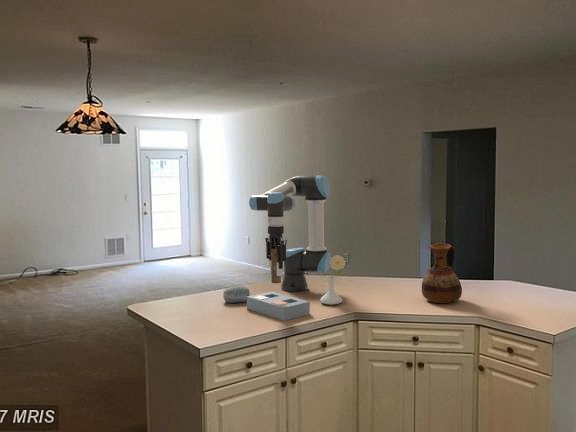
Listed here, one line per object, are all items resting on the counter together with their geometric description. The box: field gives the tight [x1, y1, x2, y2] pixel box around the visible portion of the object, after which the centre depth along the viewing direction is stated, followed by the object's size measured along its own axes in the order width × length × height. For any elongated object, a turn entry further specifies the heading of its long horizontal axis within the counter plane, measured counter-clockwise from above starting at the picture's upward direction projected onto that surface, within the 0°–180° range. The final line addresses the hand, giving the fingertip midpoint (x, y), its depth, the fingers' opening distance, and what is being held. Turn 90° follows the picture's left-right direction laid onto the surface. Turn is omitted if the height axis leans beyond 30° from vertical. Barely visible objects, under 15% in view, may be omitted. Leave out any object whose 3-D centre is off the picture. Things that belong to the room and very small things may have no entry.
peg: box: [270, 248, 282, 284], centre depth 241 cm, size 4×4×16 cm
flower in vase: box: [319, 254, 346, 305], centre depth 259 cm, size 13×11×25 cm
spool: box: [222, 285, 251, 304], centre depth 264 cm, size 14×10×10 cm
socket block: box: [246, 291, 311, 322], centre depth 246 cm, size 28×16×6 cm, turn 41°
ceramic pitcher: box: [421, 242, 463, 304], centre depth 263 cm, size 20×20×30 cm
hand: (276, 274), depth 241 cm, fingers closed on peg, 4 cm apart
